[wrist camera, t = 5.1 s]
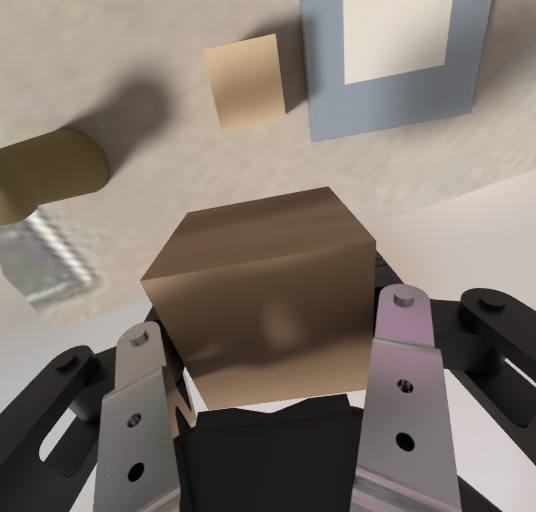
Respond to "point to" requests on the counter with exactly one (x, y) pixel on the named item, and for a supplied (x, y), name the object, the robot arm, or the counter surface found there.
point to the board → (389, 62)
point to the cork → (48, 172)
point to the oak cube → (246, 82)
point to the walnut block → (269, 298)
